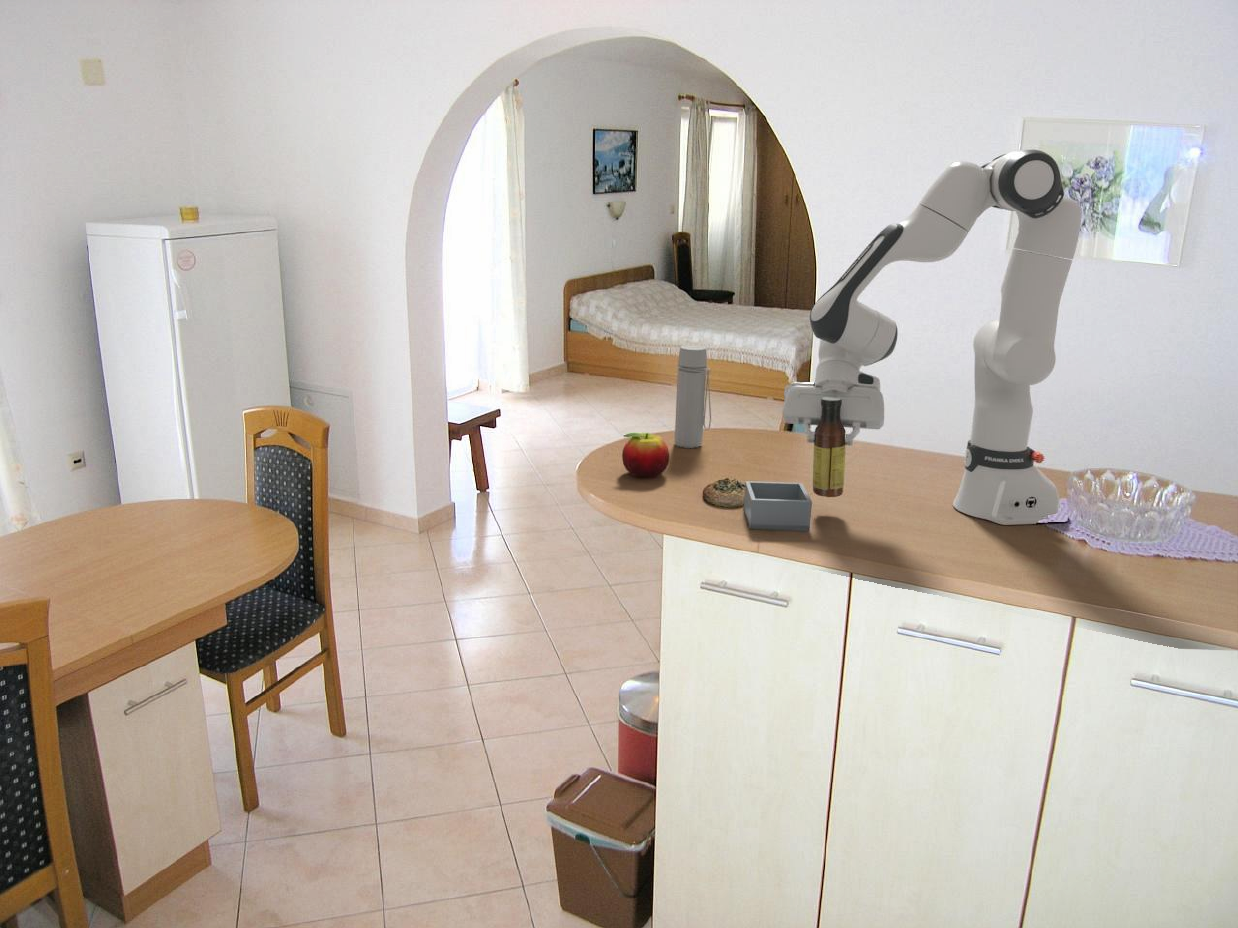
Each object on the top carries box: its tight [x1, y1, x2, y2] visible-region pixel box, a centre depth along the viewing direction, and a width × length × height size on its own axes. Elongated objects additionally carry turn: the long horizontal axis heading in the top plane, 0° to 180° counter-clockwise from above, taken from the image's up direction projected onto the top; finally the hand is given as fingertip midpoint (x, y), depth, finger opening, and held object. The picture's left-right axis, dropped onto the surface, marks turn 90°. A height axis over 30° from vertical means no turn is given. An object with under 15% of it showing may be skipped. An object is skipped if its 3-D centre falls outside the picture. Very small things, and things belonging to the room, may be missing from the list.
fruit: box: [621, 432, 670, 479], centre depth 215 cm, size 11×11×10 cm
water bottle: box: [674, 344, 712, 449], centre depth 237 cm, size 9×8×25 cm
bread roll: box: [702, 477, 745, 508], centre depth 201 cm, size 11×11×5 cm
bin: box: [743, 480, 813, 532], centre depth 190 cm, size 12×12×6 cm
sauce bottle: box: [812, 397, 847, 498], centre depth 191 cm, size 7×6×20 cm
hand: (829, 442), depth 190 cm, fingers closed on sauce bottle, 6 cm apart
